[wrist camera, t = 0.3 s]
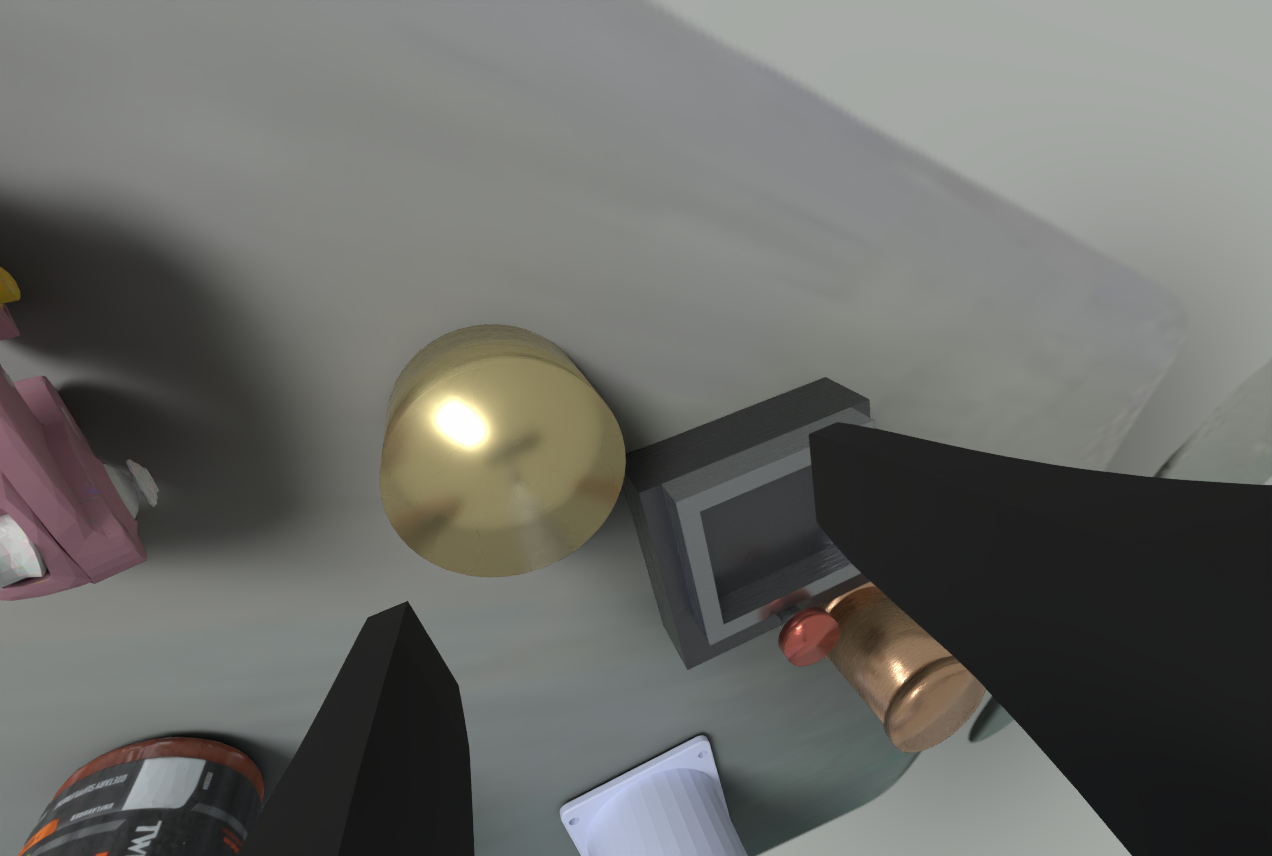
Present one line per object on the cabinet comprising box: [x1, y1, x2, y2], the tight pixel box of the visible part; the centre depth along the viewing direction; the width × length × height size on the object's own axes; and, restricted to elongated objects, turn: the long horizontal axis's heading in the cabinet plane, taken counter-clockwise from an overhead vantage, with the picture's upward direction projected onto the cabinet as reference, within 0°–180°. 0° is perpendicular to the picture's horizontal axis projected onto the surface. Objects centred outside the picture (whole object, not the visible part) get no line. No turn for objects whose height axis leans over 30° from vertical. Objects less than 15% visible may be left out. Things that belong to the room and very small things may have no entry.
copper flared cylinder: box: [819, 581, 986, 753], centre depth 26 cm, size 5×5×6 cm
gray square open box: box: [623, 377, 875, 670], centre depth 21 cm, size 9×9×5 cm
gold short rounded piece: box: [380, 325, 626, 577], centre depth 17 cm, size 6×6×4 cm
